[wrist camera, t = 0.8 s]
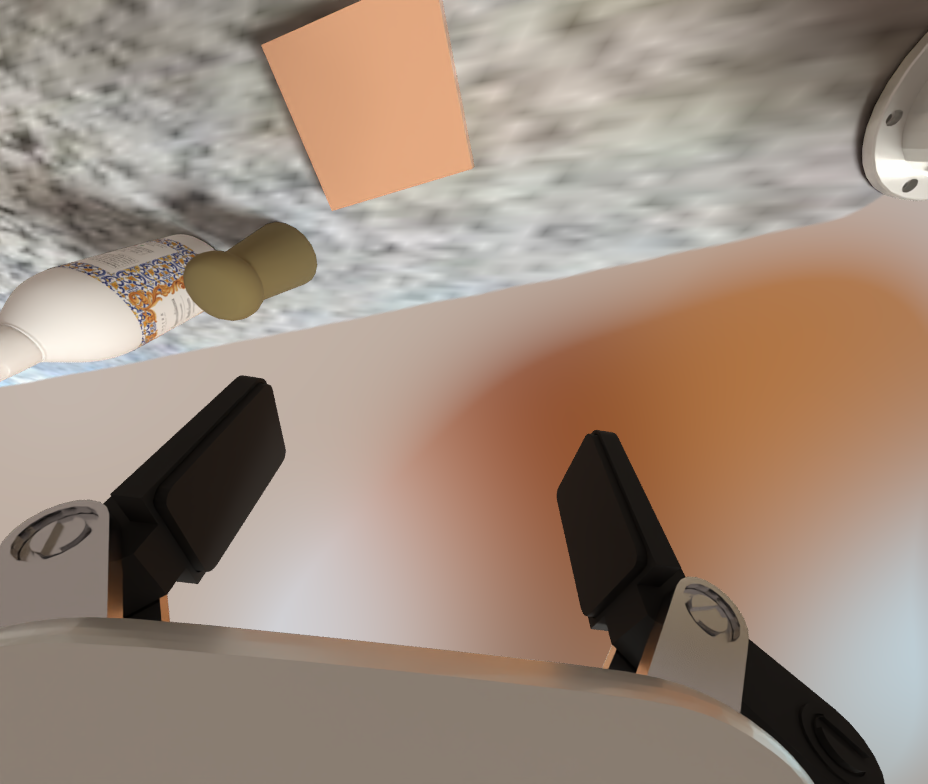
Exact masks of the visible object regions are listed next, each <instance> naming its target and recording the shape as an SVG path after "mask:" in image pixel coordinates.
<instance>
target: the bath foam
mask: <svg viewBox="0 0 928 784" xmlns="http://www.w3.org/2000/svg"><path fill="white" fill-rule="evenodd" d="M208 251H216V250H214V249H213V248H212V247H211V246H210V245H208V244H207V243H205V242H203V241H201V240H199V239H197V238H195V237H193V236H189V235H184V234H177V235H172V236H168V237H164V238H160V239H156V240H152V241H148V242H145V243H141V244H137V245H134V246H130V247H126V248H123V249H119V250H115V251H112V252H108V253H104V254H101V255H97V256H93V257H90V258H86V259H82V260H79V261H75V262H71V263H68V264H64V265H60V266H57V267H53V268H50V269H47V270H45V271H43V272H40V273H38V274H36V275H34V276H32V277H30V278H29V279H27V280H26V281H24V282H23V283H21V284H20V285H19V286H18V287H17V288H16V289H15V290H14V291H13V292H12V294H11V295H10V296H9V298H8V299H7V301H6V303H5V305H4V307H3V308H2V310H1V312H0V382H1V381H3V380H5V379H7V378H9V377H11V376H13V375H15V374H18V373H20V372H22V371H24V370H26V369H28V368H30V367H32V366H34V365H36V364H38V363H40V362H93V361H101V360H107V359H111V358H115V357H118V356H121V355H124V354H126V353H129V352H131V351H134V350H136V349H137V348H139V347H141V346H143V345H145V344H146V343H148V342H150V341H152V340H153V339H155V338H157V337H159V336H161V335H162V334H164V333H166V332H168V331H170V330H171V329H173V328H175V327H177V326H179V325H180V324H182V323H184V322H186V321H188V320H189V319H191V318H193V317H195V316H196V315H198V314H200V313H202V312H204V311H203V310H202V309H200V308H199V307H198V306H197V305H196V304H195V303H194V302H193V300H192V299H191V297H190V296H189V295H188V293H187V291H186V288H185V286H184V281H183V273H184V270H185V267H186V264H187V263H188V262H189V261H190V260H191V259H192V258H194V257H195V256H196V255H197V254H200V253H203V252H208Z"/></svg>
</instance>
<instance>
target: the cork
mask: <svg viewBox="0 0 928 784" xmlns="http://www.w3.org/2000/svg"><path fill="white" fill-rule="evenodd" d="M316 268H317V261H316V255H315V252H314V250H313V248H312V245H311V244H310V243H309V241H308V240H307V238H306V237H305V236H304V235H303V234H302V233H301V232H299V231H298V230H297V229H296V228H294V227H292V226H290V225H288V224H286V223H279V222H273V223H269V224H266V225H265V226H263V227H262V228H260V229H259V230H257V231H256V232H254V233H253V234H251V235H250V236H248V237H247V238H245V239H244V240H242V241H241V242H239V243H238V244H236V245H235V246H233V247H232V248H231V249H229V250H228V251H226V252H224V251H208V252H203V253H200V254H197V255H196V256H195V257H194V258H192V259H191V260H190V261H189V262H188V263H187V264H186V267H185V270H184V273H183V281H184V286H185V288H186V291H187V293H188V295H189V296H190V297H191V299H192V300H193V302H194V303H195V304H196V305H197V306H198V307H199V308H200V309H202V310H203V311H205V312H206V313H208V314H209V315H211V316H214V317H216V318H218V319H224V320H231V321H235V320H241V319H245V318H247V317H249V316H250V315H252V314H254V313H255V312H256V311H257V310H258V309H259V307H260V305H261V304H262V302H263V300H265V299H267V298H270V297H272V296H275V295H278V294H280V293H283V292H285V291H288V290H291V289H293V288H296V287H298V286H301V285H304V284H306V283H307V282H309V281H310V280H312V278H313V276H314V275H315V273H316Z"/></svg>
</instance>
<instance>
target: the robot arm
mask: <svg viewBox="0 0 928 784" xmlns="http://www.w3.org/2000/svg"><path fill="white" fill-rule="evenodd" d="M862 164H863V167H864V171H865V174H866V177H867V179H868V180H869V182H870V183H871V184H872V186H873V187H874V188H875V189H877V190H878V191H880V192H881V193H883V194H884V195H887V196H890V197H894V198H897V199H904V200H913V201H926V200H928V32H927V33H926V34H925V35H924V36H923V38H922V39H921V40H920V41H919V42H918V43H917V45H916V46H915V47H914V48H913V49H912V50H911V52H910V53H909V54H908V55H907V56H906V57H905V59H904V60H903V62H902V63H901V64H900V66H899V67H898V69H897V70H896V72H895V73H894V74H893V76H892V77H891V79H890V80H889V82H888V83H887V85H886V87H885V89H884V90H883V92H882V94H881V96H880V98H879V99H878V101H877V103H876V105H875V107H874V110H873V112H872V115H871V117H870V120H869V122H868V125H867V128H866V132H865V137H864V142H863V146H862ZM285 453H286V449H285V445H284V440H283V435H282V431H281V426H280V422H279V417H278V413H277V408H276V403H275V398H274V394H273V390H272V387H271V385H268V384H267V383H266V381H265V380H264V379H262V378H256V377H250V376H239V377H237V378H236V379H235V380H234V381H233V382H231V384H229V385H228V386H227V387H226V388H225V389H224V390H223V391H222V392H221V393H220V394H218V395H217V396H216V397H215V398H214V399H213V400H212V401H211V402H210V403H209V404H208V405H207V406H206V407H204V408H203V409H202V410H201V411H200V412H199V413H198V414H197V415H196V416H195V417H194V418H192V420H190V421H189V422H188V423H187V424H186V425H185V426H184V427H183V428H182V429H180V430H179V431H178V432H177V433H176V434H175V435H174V436H173V437H172V438H171V439H170V440H169V441H167V442H166V443H165V444H164V445H163V446H162V447H161V448H160V449H159V450H158V451H157V452H156V453H155V454H153V455H152V456H151V457H150V458H149V459H148V460H147V461H146V462H145V463H144V464H143V465H141V466H140V467H139V468H138V469H137V470H136V471H135V472H134V473H133V474H132V475H131V476H129V477H128V478H127V479H126V480H125V481H124V482H123V483H122V484H121V485H120V486H119V487H118V488H117V489H115V490H114V491H113V492H112V493H111V497H110V498H109V499H108V500H107V501H106V502H105V503H104V504H102V503H101V502H97V501H93V500H77V501H72V502H67V503H63V504H59V505H57V506H54V507H51V508H49V509H46V510H44V511H42V512H40V513H38V514H37V515H34V516H33V517H31V518H29V519H27V520H26V521H24V522H23V523H22V524H20V525H19V526H18V527H16V528H15V529H14V530H13V531H12V532H11V533H10V534H9V535H8V536H7V537H6V538H5V539H4V540H3V541H2V543H1V545H0V784H885V783H884V778H883V774H882V771H881V769H880V767H879V765H878V763H877V761H876V758H875V756H874V755H873V753H872V752H871V750H870V749H869V747H868V746H867V744H866V743H865V741H864V739H863V738H862V737H861V736H860V735H859V733H858V732H857V731H856V730H855V729H854V727H853V726H852V725H851V724H850V723H849V722H848V721H847V720H846V719H845V718H844V717H843V716H841V714H839V713H838V712H837V711H836V710H835V709H834V708H833V707H831V706H830V705H829V704H828V703H827V702H825V701H824V700H823V699H822V698H820V697H819V696H818V695H817V694H816V693H814V692H813V691H812V690H811V689H809V688H808V687H807V686H806V685H805V684H803V683H802V682H801V681H800V680H798V679H797V678H796V677H795V676H794V675H792V674H791V673H790V672H789V671H787V670H786V669H785V668H784V667H782V666H781V665H780V664H779V663H777V662H776V661H775V660H774V659H773V658H772V657H770V656H769V655H768V654H767V653H765V652H764V651H763V650H762V649H760V648H759V647H758V646H757V645H756V644H754V643H753V642H752V641H751V640H749V636H748V628H747V626H746V623H745V620H744V618H743V616H742V614H741V613H740V611H739V610H738V608H737V607H736V605H735V604H734V603H733V602H732V601H731V600H730V598H729V597H728V596H727V595H726V594H725V593H723V592H722V591H721V590H720V589H718V588H717V587H716V586H714V585H712V584H711V583H709V582H708V581H706V580H703V579H700V578H697V577H685V575H684V573H683V571H682V569H681V566H680V564H679V563H678V560H677V558H676V556H675V554H674V552H673V550H672V548H671V546H670V544H669V542H668V540H667V537H666V535H665V534H664V531H663V529H662V527H661V525H660V523H659V521H658V519H657V517H656V515H655V513H654V511H653V509H652V507H651V504H650V502H649V500H648V498H647V496H646V494H645V492H644V490H643V488H642V486H641V484H640V482H639V480H638V478H637V475H636V473H635V471H634V469H633V467H632V465H631V463H630V461H629V459H628V457H627V455H626V453H625V451H624V449H623V447H622V445H621V442H620V441H619V438H618V437H617V435H616V434H615V433H612V432H606V431H600V430H594V431H593V432H592V433H591V434H587V435H586V436H585V438H584V440H583V442H582V444H581V446H580V448H579V449H578V452H577V453H576V455H575V457H574V459H573V461H572V463H571V465H570V467H569V468H568V470H567V472H566V474H565V476H564V478H563V480H562V482H561V484H560V486H559V488H558V490H557V502H558V507H559V511H560V516H561V520H562V524H563V529H564V534H565V538H566V543H567V547H568V552H569V556H570V561H571V565H572V570H573V574H574V579H575V583H576V588H577V592H578V597H579V601H580V606H581V610H582V612H583V614H584V615H585V616H588V618H589V623H590V627H591V629H596V630H604V631H609V636H610V639H611V643H612V646H611V649H610V651H609V653H608V655H607V658H606V660H605V662H604V665H603V667H602V668H596V667H588V666H580V665H573V664H565V663H557V662H548V661H539V660H531V659H522V658H513V657H503V656H495V655H486V654H477V653H468V652H459V651H450V650H440V649H432V648H422V647H413V646H404V645H394V644H385V643H376V642H366V641H356V640H348V639H338V638H329V637H319V636H310V635H300V634H290V633H280V632H270V631H261V630H251V629H241V628H230V627H221V626H212V625H201V624H189V623H177V622H170V617H169V606H168V596H167V594H168V592H169V591H170V589H171V588H172V587H173V585H174V584H175V582H176V581H177V582H185V583H195V584H198V583H199V582H200V580H201V578H202V577H203V575H204V574H205V572H209V571H211V570H212V569H214V568H215V566H216V565H217V564H218V562H219V561H220V559H221V557H222V556H223V554H224V553H225V551H226V550H227V548H228V547H229V545H230V543H231V542H232V540H233V539H234V537H235V536H236V534H237V532H238V531H239V529H240V528H241V526H242V525H243V523H244V522H245V520H246V518H247V517H248V515H249V514H250V512H251V511H252V509H253V508H254V506H255V504H256V503H257V501H258V500H259V498H260V497H261V495H262V493H263V492H264V490H265V489H266V487H267V486H268V484H269V482H270V481H271V479H272V478H273V476H274V475H275V473H276V471H277V470H278V468H279V467H280V465H281V464H282V462H283V460H284V458H285Z"/></svg>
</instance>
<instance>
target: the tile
mask: <svg viewBox="0 0 928 784" xmlns="http://www.w3.org/2000/svg"><path fill="white" fill-rule="evenodd" d="M261 46H262V48H263V51H264V53H265V55H266V58H267V60H268V62H269V65H270V67H271V69H272V72H273V74H274V76H275V79H276V81H277V83H278V86H279V88H280V90H281V93H282V95H283V97H284V100H285V102H286V104H287V107H288V109H289V111H290V114H291V116H292V118H293V121H294V123H295V125H296V128H297V130H298V132H299V135H300V137H301V139H302V142H303V144H304V146H305V149H306V151H307V153H308V156H309V158H310V160H311V163H312V165H313V167H314V170H315V172H316V174H317V177H318V179H319V181H320V184H321V186H322V188H323V191H324V193H325V195H326V198H327V200H328V202H329V205H330V207H331V209H332V211H333V210H337V209H340V208H343V207H347V206H350V205H353V204H357V203H360V202H363V201H367V200H370V199H373V198H377V197H380V196H383V195H387V194H390V193H393V192H397V191H400V190H403V189H407V188H410V187H413V186H417V185H420V184H423V183H426V182H430V181H433V180H436V179H440V178H443V177H446V176H450V175H453V174H456V173H460V172H463V171H466V170H470V169H472V168H474V167H475V166H474V161H473V156H472V150H471V145H470V140H469V135H468V130H467V125H466V119H465V114H464V109H463V104H462V99H461V94H460V89H459V83H458V78H457V73H456V68H455V63H454V58H453V52H452V47H451V42H450V37H449V32H448V27H447V22H446V16H445V11H444V6H443V1H442V0H361V1H359V2H357V3H354V4H352V5H350V6H348V7H345V8H343V9H341V10H339V11H336V12H334V13H332V14H330V15H327V16H325V17H323V18H321V19H318V20H316V21H314V22H312V23H310V24H307V25H305V26H303V27H301V28H298V29H296V30H294V31H292V32H289V33H287V34H285V35H283V36H280V37H278V38H276V39H274V40H271V41H269V42H267V43H265V44H262V45H261Z"/></svg>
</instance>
